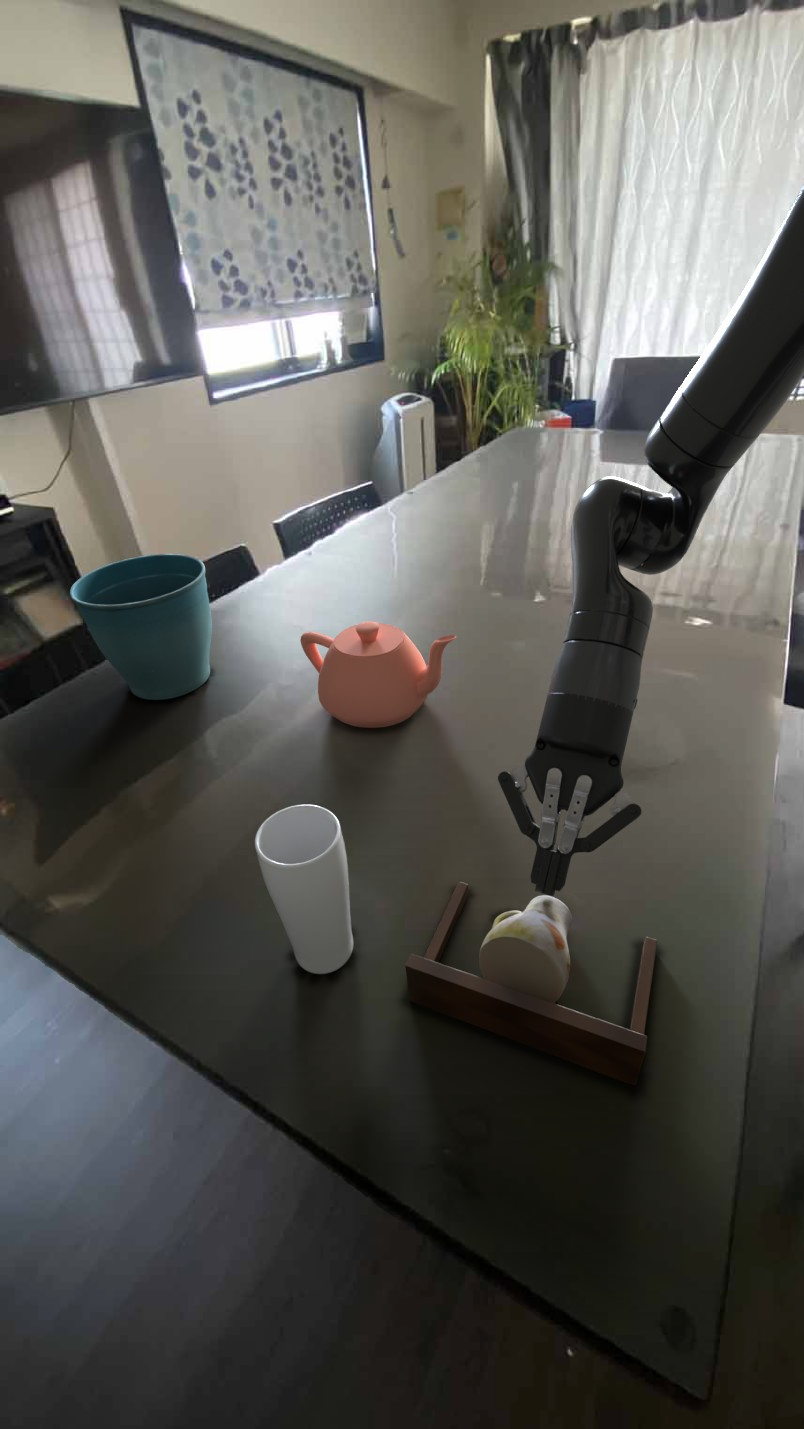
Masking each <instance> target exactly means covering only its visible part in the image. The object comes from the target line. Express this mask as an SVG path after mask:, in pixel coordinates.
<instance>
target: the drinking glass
mask: <svg viewBox="0 0 804 1429" xmlns="http://www.w3.org/2000/svg"><path fill="white" fill-rule="evenodd" d="M254 848H255V852H256V857H257V861H258V862H257V863H258V866H259V870H260V872H261V873H260V874H261V876H262V879H263V882H264V885H265V887H266V888H265V889H267V892H268V895H269V897H270V900H271V902H272V904H273V906H274V909H275V911H276V912H277V915H278V917H279V919H280V922H281V924H282V926H283V929H284V931H285V933H286V936H287V938H288V940H289V943H290V945H291V948H292V952H293V954H294V958H295V961H296V962H297V964H298V965H299V966H300V967H301V968H302V969H303V970H305V971H306V972H308V973H311V974H315V975H326V974H331V973H333V972H335V971H337V970H339V969H340V968H342V967H343V966H344V965H345V964H346V963H347V962H348V961H349V959H350V958H351V956H352V953H353V950H354V942H355V941H354V936H353V930H352V918H351V916H352V914H351V899H350V881H349V880H350V879H349V877H350V876H349V865H348V856H347V850H346V845H345V839H344V835H343V832H342V828H341V823H340V821H339V819H338V818H337V816H336V815H335V814H334V813H333V812H332V811H330V810H329V809H327V808H326V807H322V806H319V805H315V804H296V805H291V806H288V807H285V808H283V809H282V808H281V809H280V810H278V811H275V813H273V814H271V815H270V816H269V817H268V818H266V819H265V820H264V821H263V822H262V823H261V825H260V826H259V828H258V830H257V831H256V834H255V838H254Z"/></svg>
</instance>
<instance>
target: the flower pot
mask: <svg viewBox="0 0 804 1429" xmlns="http://www.w3.org/2000/svg"><path fill="white" fill-rule="evenodd" d="M206 572H207V571H206V567H205V564H204V563H203V561H202V560H200V559H199V558H197V557H195V556H191V555H186V554H179V553H159V554H147V555H142V556H135V557H131V558H125V559H122V560H118V561H114V562H111V563H109V564H106V565H103V566H101V567H98V568H95V569H94V570H91V571H89V572H88V573H86V574H84V575H83V576H81V577H80V578H79V579H76V581H75V582H74V583H73V584H72V586H70V587H71V588H70V590H69V596H70V599H71V600H72V602H73V603H74V604H75V605H76V607H77V609H78V611H79V614H80V615H81V617H82V618H83V620H84V622H85V625H86V626H87V629H88V631H89V633H90V635H91V637H92V638H93V641H94V643H95V644H96V646H97V647H98V649H99V650H100V652H101V653H102V655H103V656H104V657H105V659H106V660H107V661H108V662H109V663H110V664H111V666H112V667H113V668H114V669H115V670H116V671H117V672H118V674H120V676H121V677H122V678H123V680H124V681H125V682H126V683H127V685H128V686H129V690H130V692H131V693H132V694H133V695H134V696H136V697H137V698H140V699H143V700H149V701H162V700H170V699H174V698H178V697H181V696H184V695H186V694H189V693H192V692H193V691H195V690H197V689H199V688H200V687H201V686H202V685H204V684H205V682H207V680H208V679H209V677H210V675H211V667H210V652H211V642H212V633H213V632H212V631H213V622H212V611H211V604H210V598H209V593H208V584H207V579H206Z"/></svg>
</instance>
